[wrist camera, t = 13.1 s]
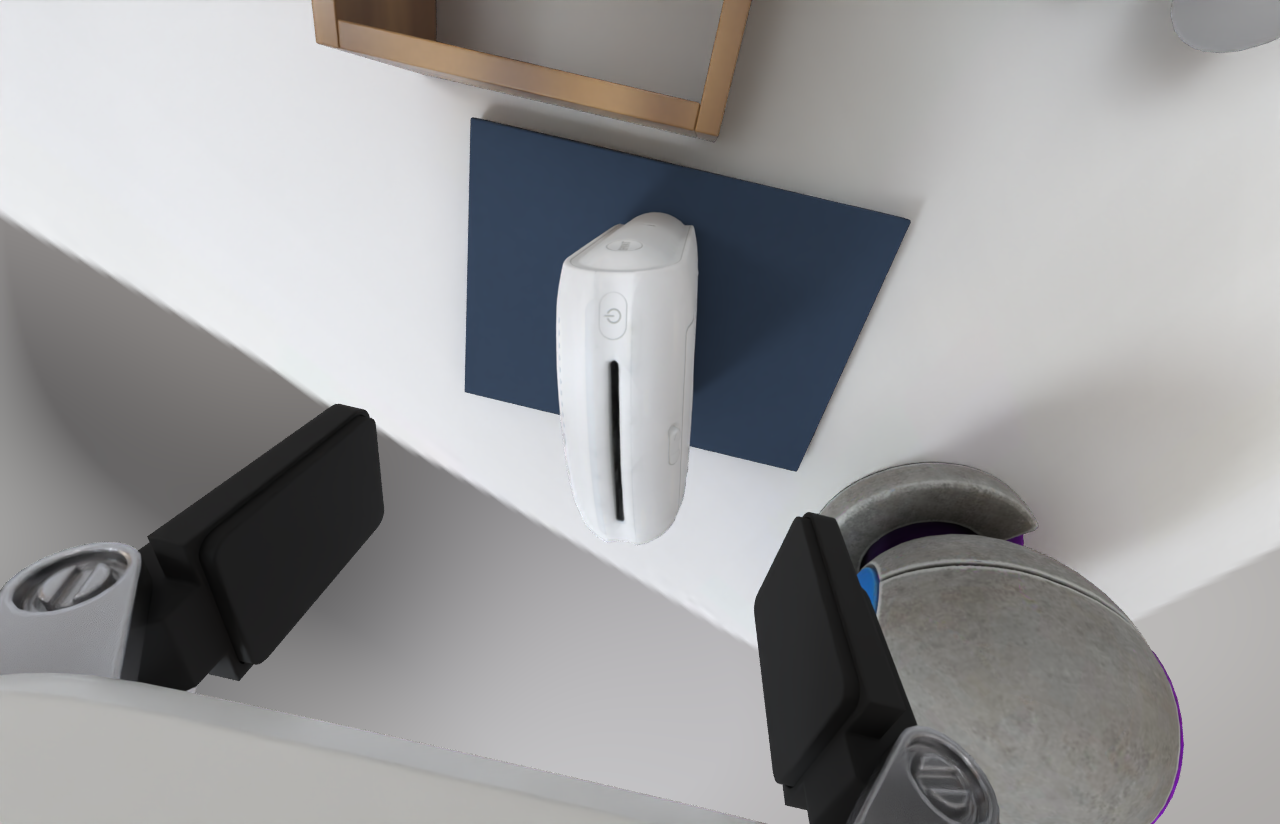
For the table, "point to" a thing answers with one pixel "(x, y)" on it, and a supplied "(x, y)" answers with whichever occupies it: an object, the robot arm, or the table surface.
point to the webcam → (1012, 649)
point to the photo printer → (628, 374)
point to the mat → (727, 281)
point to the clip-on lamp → (1226, 23)
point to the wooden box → (527, 64)
